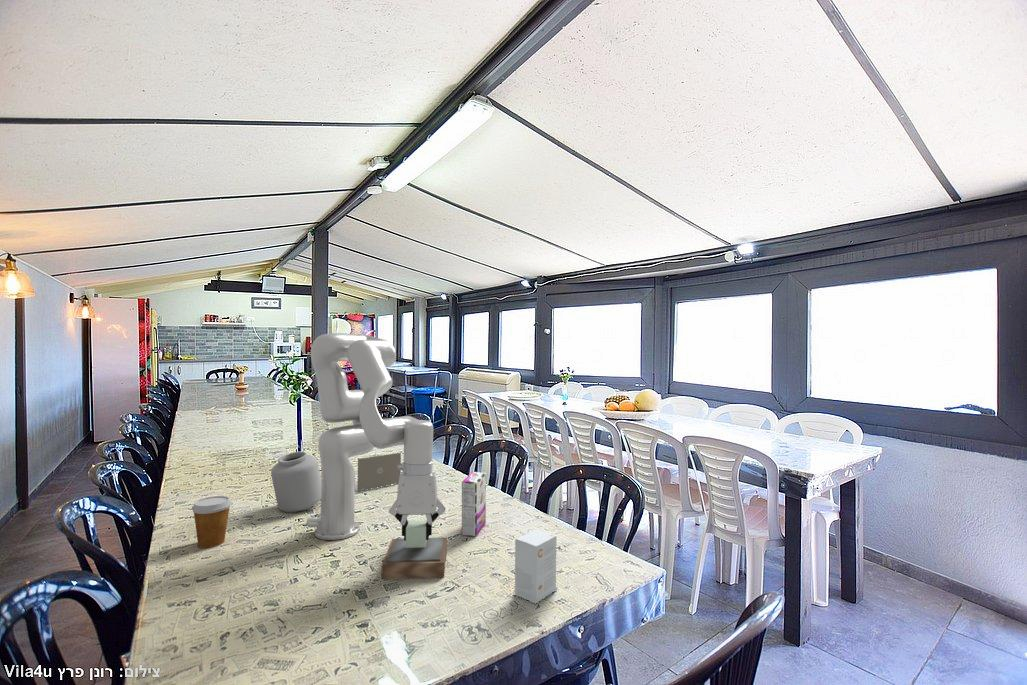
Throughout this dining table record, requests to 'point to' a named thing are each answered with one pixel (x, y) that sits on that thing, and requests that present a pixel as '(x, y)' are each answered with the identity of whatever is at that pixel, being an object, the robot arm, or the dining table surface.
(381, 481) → the laptop
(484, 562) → the dining table surface
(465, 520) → the candy bar box
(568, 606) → the dining table surface
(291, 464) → the jar
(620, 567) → the dining table surface
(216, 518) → the disposable coffee cup
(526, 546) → the small box
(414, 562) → the walnut base
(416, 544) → the sage cube
